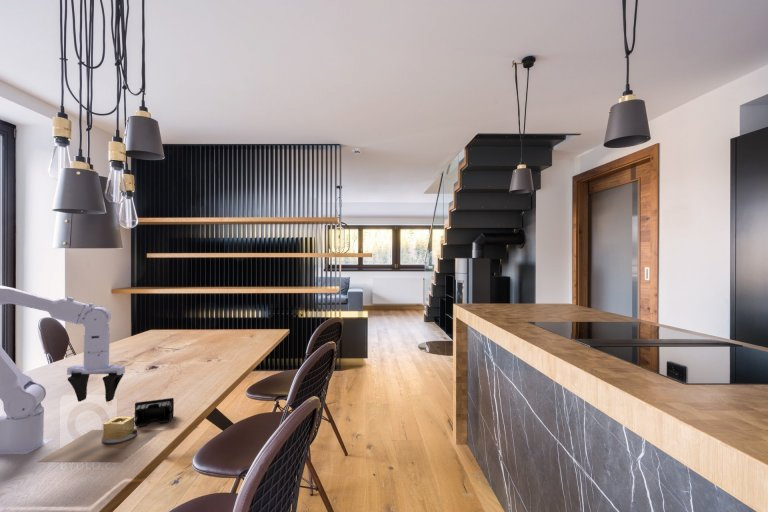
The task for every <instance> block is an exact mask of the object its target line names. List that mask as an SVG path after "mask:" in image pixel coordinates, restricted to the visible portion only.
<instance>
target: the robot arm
mask: <svg viewBox="0 0 768 512" xmlns="http://www.w3.org/2000/svg"><path fill="white" fill-rule="evenodd" d="M74 299H75V297H72V296H67V298H66V297H60V298H57V299H51V298H47V297H45V296H41V295H38V294H34V293H31V292H27V291H24V290H21V289H18V288H15V287H9V286H7V285H6V286H5V285H0V306H1V305H7V304H8V305H9V304H12V305H17V306H22V307H25V308H30V309H35V310H39V311H43V312H47V313H48V314H49V315H50V317H51V319H56V320H59V321H63V322H68V323H71V324H76V325H82V326H83V327H84V335H83V365H72V366H69V367H67V368H66V369H67V370H66V371H67V372H66V375H68V376H69V377H67V381H68V382H69V384H70V385H71V387H72V388H73V390H74V393H75V395H76V399H77V402H83V401H84V400H87V394H88V393H87V392H88V383H89V378H90V375H105V376H103V377H102V381H103V384H104V389H105V391H104V395H105V397H104V398H105V402H106V403H107V402H108V403H109V402H111V401H113V400H114V398H115V395H116V391H117V389H118V386H119V384H120V381H122V378H123V376H124V374H125V372H126V365H116V364H110V332H109V331H110V327H109V322H110V321H111V318H112V317H111V315H112V314H111V311H110V310H109V309H108V308H107V307H104V306H102V305H96V306H94V305H95V304H94V303H93V302H89V303H85V302H81V301H77V300H74ZM46 395H47V390H46V388H45V386H43V385H42V384H40V383H38V382H36V381H34V380H33V378H32V377H31V376H29V375H27V374H25V373H23V372H22V371H21V369H20V368H19V367H18V366H17V365H16V363H15V362H14V361H13V360H12V358H11V357H10V356H9V354H8V353H7V352H6V351H5V350H4V348H3V347H2V346H1V345H0V400H1V401H2V404H3V411H4V414H3V415H1V416H0V454H1V455H13V454H14V455H15V454H16V455H18V454H19V455H25V454H29V453H31V452H33V451H35V450H36V449H38V448H39V447H40V448H41V447H42V446H44V445H45V444H48V443H49V442H52V441H53V438H52V439H51V438H47V439H46V438H44V430H45V429H44V428H45V427H44V426H45V425H44V424H45V421H44V420H45V408H44V406H43V405H42V402H43V401H44V399H45V398H46Z"/></svg>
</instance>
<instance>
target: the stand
mask: <svg viewBox="0 0 768 512" xmlns="http://www.w3.org/2000/svg"><path fill="white" fill-rule="evenodd" d="M118 422H123V421H118ZM137 430H138V429H135V428H134V432H132V433H131V434H129V435H128V436H127V437H125V438H124V439H103V437H102V441H101V442H102V443H103V444H119V443H123V442H126V441H129V440H131V439H133V438H135V437H136V436H137Z"/></svg>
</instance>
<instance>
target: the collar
mask: <svg viewBox="0 0 768 512" xmlns="http://www.w3.org/2000/svg"><path fill="white" fill-rule="evenodd" d="M118 421H123V422H118ZM134 421H135V416H115V417H112V418H111V419H110V420H108V421H106V422H104V423H103V429H102V430H103V439H124V438H125V437H127V436H128V435H129V434H131V433H132V432H134V429H135V423H134Z"/></svg>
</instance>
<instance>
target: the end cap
mask: <svg viewBox="0 0 768 512" xmlns="http://www.w3.org/2000/svg"><path fill="white" fill-rule="evenodd" d="M174 405H175V398H174V397H169V398H162V399H161V398H160V399H152V400H145V401H136V402H135V403H134V413H133V415H134V427H142V426H144V427H145V426H147V425H148V423H150V422H157V421H158V423H159V424H163V423H169V422H170V421H171V420H172V419H173V418H174V410H175V408H174V407H175V406H174Z"/></svg>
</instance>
